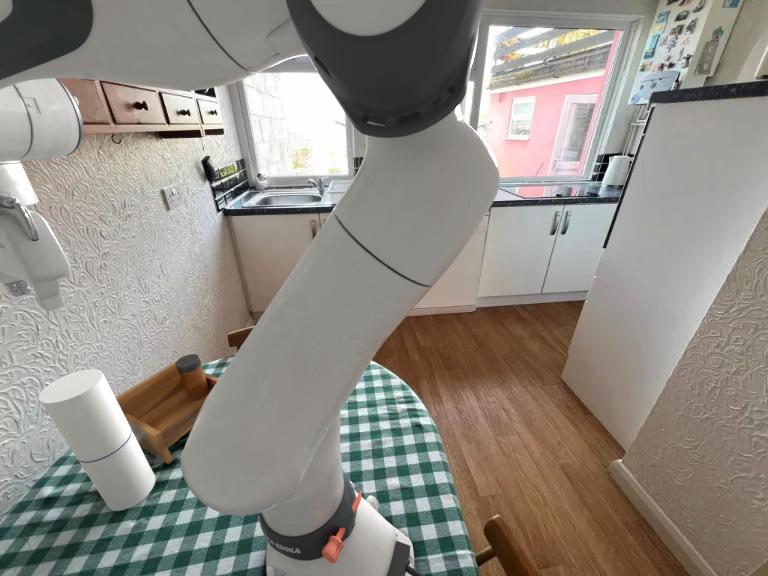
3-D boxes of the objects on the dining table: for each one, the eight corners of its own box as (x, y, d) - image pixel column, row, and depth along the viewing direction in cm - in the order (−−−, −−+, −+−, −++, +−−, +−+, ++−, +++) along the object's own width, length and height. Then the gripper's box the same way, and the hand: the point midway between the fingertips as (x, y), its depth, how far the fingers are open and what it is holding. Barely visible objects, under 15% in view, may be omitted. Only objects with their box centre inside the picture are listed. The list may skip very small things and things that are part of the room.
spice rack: (234, 407, 75) (220, 358, 68) (168, 464, 62) (142, 409, 55) (201, 392, 79) (184, 345, 73) (133, 442, 66) (106, 389, 60)
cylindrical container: (130, 514, 53) (64, 406, 43) (96, 506, 55) (24, 399, 44) (164, 475, 60) (114, 372, 49) (133, 468, 61) (78, 366, 50)
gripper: (57, 193, 34) (107, 306, 40) (-16, 185, 42) (34, 279, 48) (-31, 203, 29) (41, 330, 34) (-95, 191, 37) (-28, 296, 43)
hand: (36, 300), depth 41 cm, fingers open, 8 cm apart
